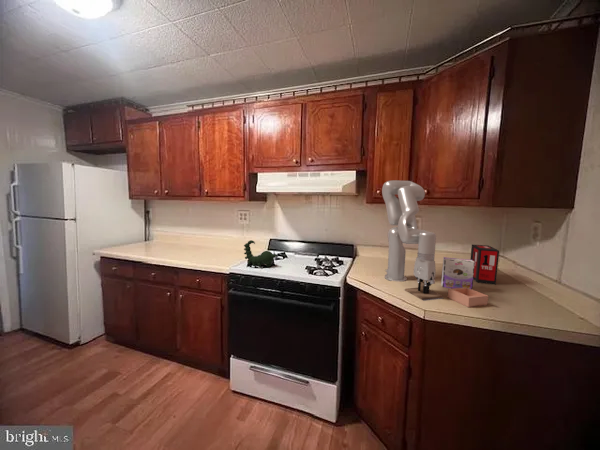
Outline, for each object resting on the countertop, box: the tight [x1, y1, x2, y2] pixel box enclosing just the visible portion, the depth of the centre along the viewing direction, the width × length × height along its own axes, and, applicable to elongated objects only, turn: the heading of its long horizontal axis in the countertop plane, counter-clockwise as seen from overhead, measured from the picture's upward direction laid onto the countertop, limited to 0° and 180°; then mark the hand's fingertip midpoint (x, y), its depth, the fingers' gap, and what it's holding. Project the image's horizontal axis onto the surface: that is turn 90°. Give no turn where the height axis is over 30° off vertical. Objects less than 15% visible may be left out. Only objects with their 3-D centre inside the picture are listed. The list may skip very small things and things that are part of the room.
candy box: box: [440, 256, 475, 290], centre depth 131 cm, size 14×6×16 cm, turn 66°
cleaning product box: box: [469, 244, 500, 285], centre depth 147 cm, size 16×9×20 cm, turn 159°
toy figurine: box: [243, 240, 277, 268], centre depth 170 cm, size 9×19×25 cm
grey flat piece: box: [407, 292, 445, 302], centre depth 122 cm, size 14×12×1 cm
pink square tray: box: [447, 287, 489, 308], centre depth 114 cm, size 11×11×5 cm
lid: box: [404, 282, 444, 301], centre depth 122 cm, size 12×12×6 cm
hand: (423, 291), depth 122 cm, fingers closed on lid, 2 cm apart
